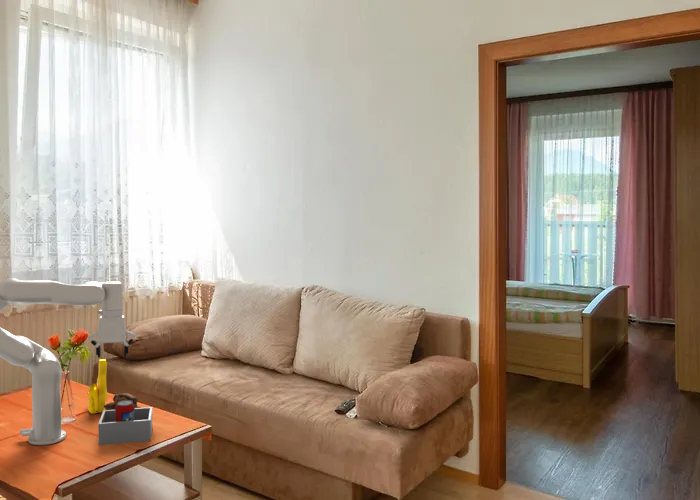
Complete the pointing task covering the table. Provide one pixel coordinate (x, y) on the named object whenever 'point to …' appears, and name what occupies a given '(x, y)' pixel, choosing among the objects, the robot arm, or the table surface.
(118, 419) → the beverage can
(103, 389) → the figure statuette
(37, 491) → the table surface
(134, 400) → the wooden carving
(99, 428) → the gray open storage box
